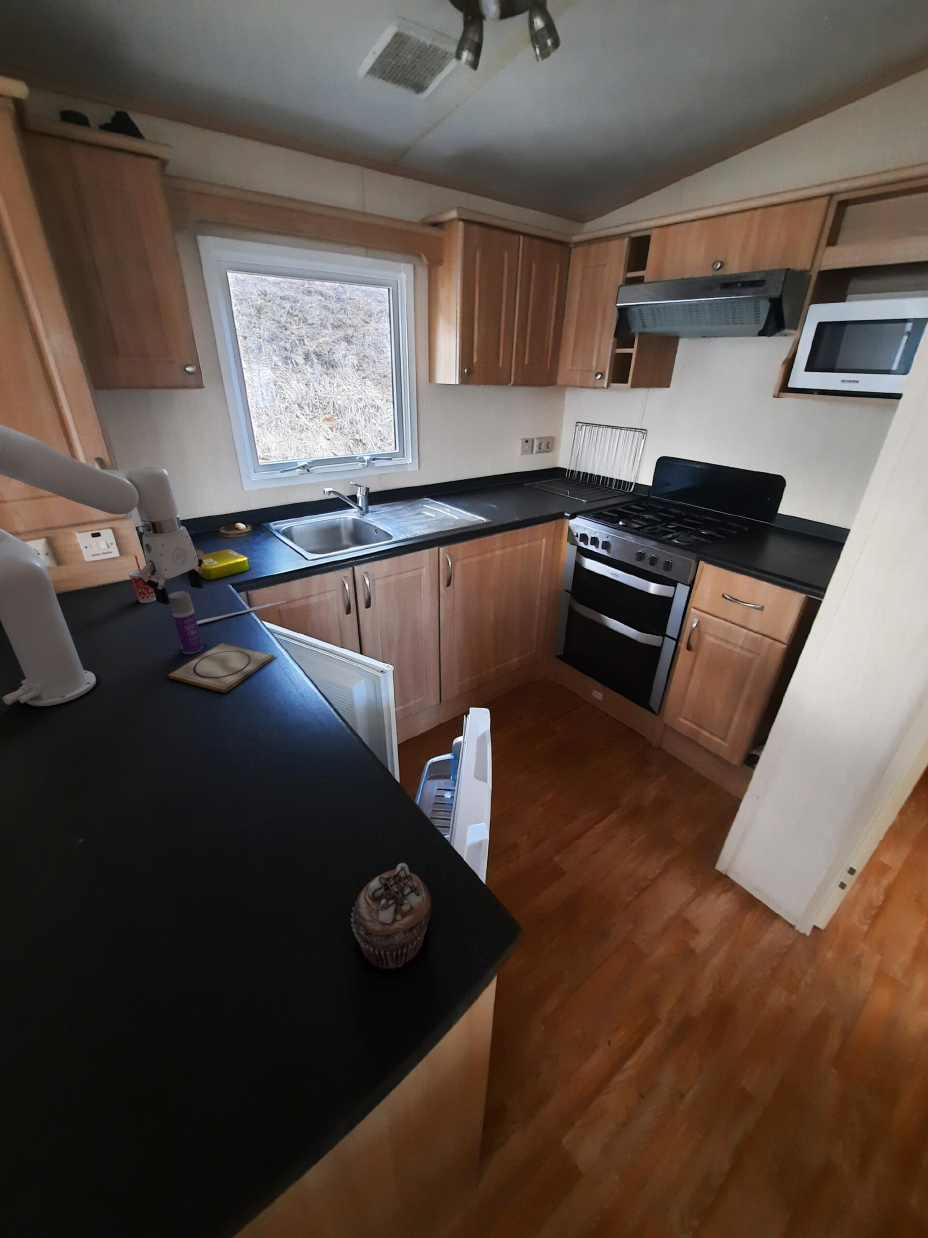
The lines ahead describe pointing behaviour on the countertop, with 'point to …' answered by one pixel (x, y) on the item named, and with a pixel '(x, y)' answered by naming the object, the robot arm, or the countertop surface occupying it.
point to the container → (185, 622)
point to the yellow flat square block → (222, 564)
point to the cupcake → (392, 917)
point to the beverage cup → (141, 586)
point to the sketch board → (221, 667)
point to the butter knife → (237, 612)
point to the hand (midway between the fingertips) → (181, 595)
